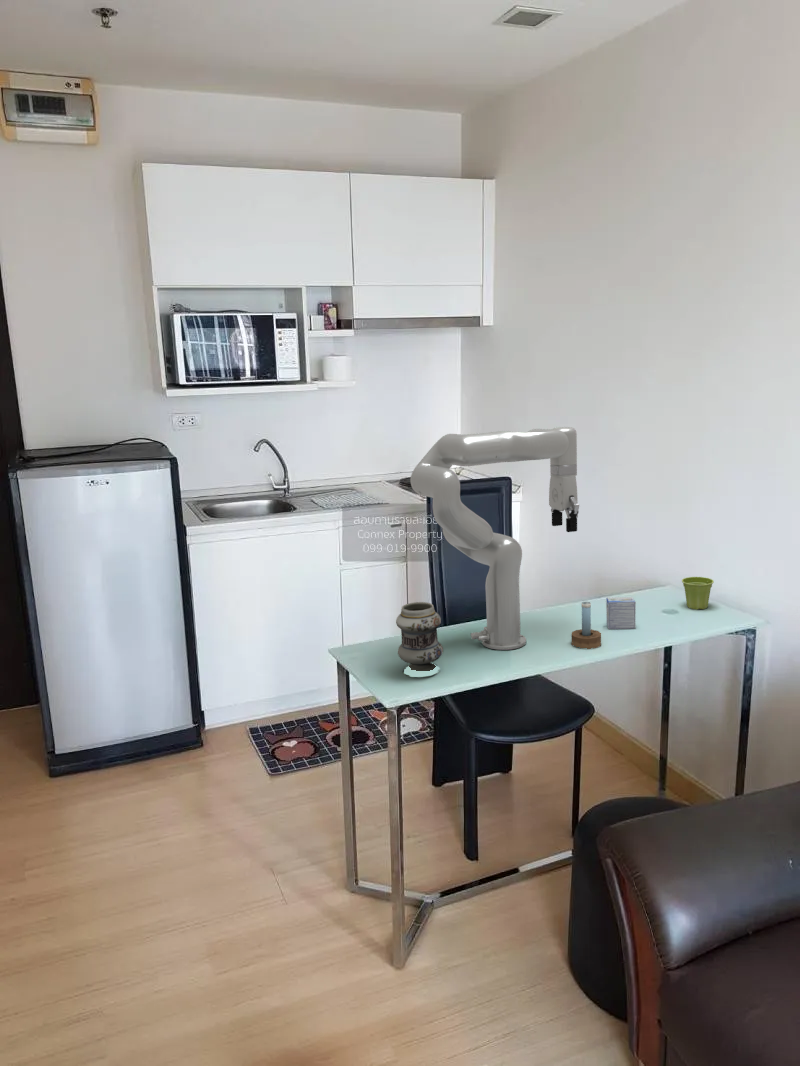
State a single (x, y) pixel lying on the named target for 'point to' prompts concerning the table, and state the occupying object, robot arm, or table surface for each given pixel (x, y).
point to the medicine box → (621, 612)
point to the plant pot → (697, 591)
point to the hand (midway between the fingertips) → (564, 528)
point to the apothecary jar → (419, 635)
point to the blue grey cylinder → (586, 619)
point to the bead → (586, 639)
